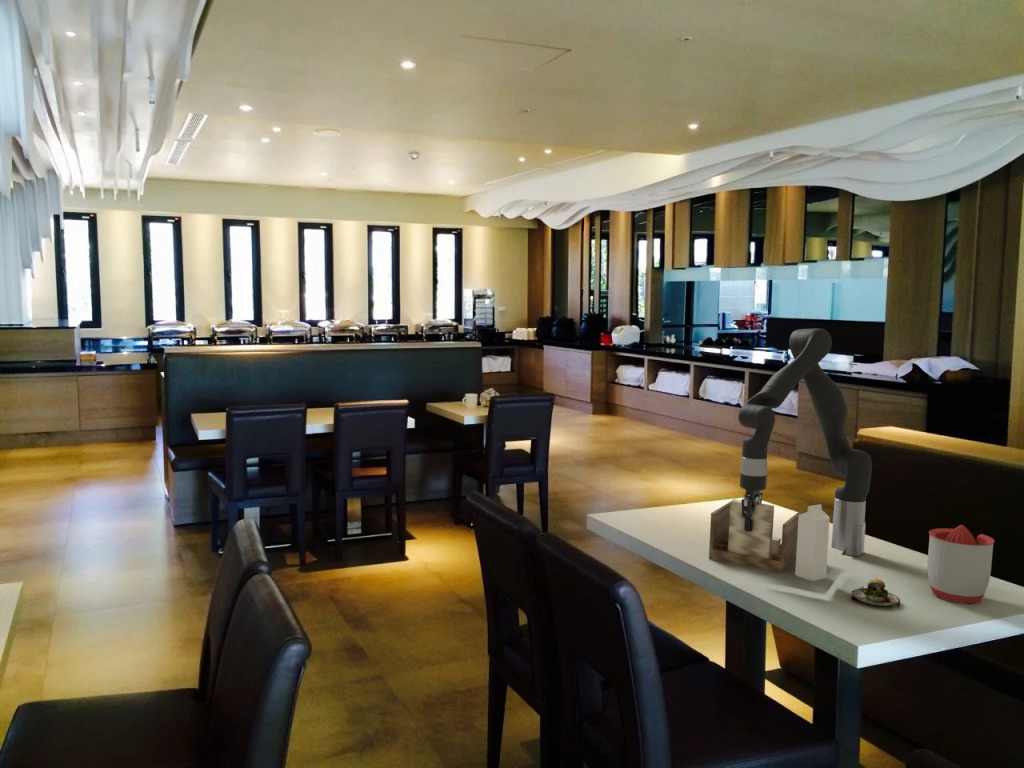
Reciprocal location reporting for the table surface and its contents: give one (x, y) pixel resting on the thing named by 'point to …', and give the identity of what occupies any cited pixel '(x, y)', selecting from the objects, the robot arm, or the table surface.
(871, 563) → the table surface
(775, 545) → the offcut
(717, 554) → the rack
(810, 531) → the milk
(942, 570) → the citrus juicer
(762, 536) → the beige patterned book
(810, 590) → the table surface
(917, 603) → the table surface
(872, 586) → the burger
